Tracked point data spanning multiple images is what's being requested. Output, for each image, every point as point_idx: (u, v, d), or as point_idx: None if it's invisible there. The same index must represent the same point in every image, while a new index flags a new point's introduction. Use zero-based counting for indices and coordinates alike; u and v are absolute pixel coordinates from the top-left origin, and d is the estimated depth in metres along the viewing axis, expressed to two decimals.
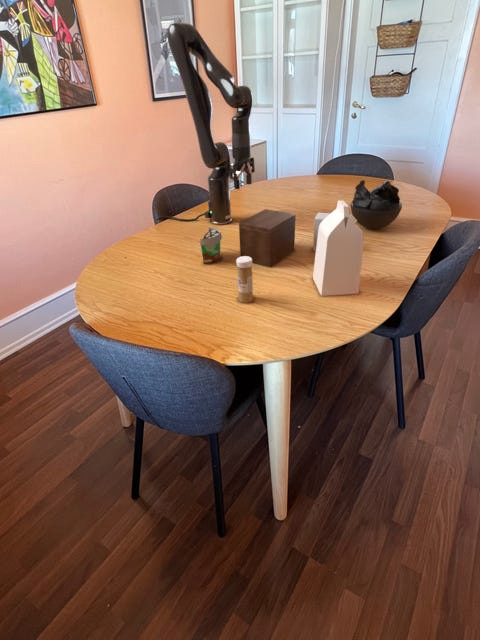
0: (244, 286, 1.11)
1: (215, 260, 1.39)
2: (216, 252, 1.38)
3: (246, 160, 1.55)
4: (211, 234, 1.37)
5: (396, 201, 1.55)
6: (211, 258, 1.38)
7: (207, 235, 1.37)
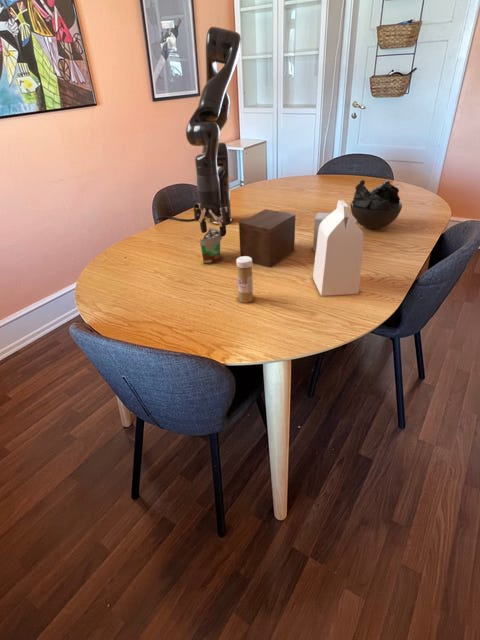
0: (244, 286, 1.11)
1: (215, 260, 1.39)
2: (216, 252, 1.38)
3: (212, 207, 1.29)
4: (211, 235, 1.38)
5: (396, 201, 1.55)
6: (211, 258, 1.38)
7: (207, 235, 1.37)
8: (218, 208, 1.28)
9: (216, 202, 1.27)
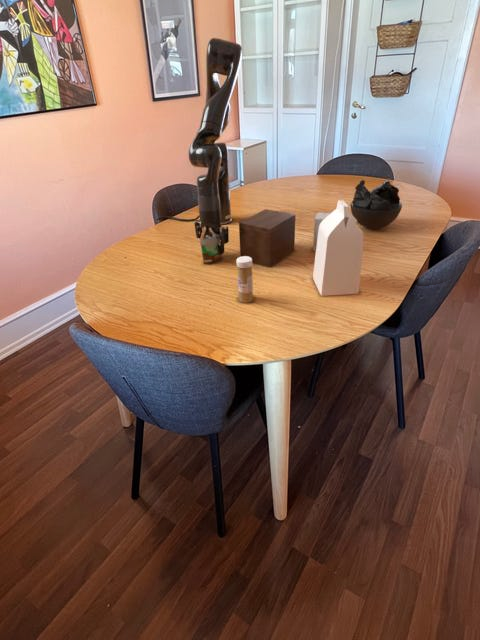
0: (244, 286, 1.11)
1: (215, 260, 1.39)
2: (216, 252, 1.38)
3: (212, 225, 1.33)
4: None
5: (396, 201, 1.55)
6: (211, 258, 1.38)
7: (207, 235, 1.37)
8: (218, 227, 1.32)
9: (216, 221, 1.31)
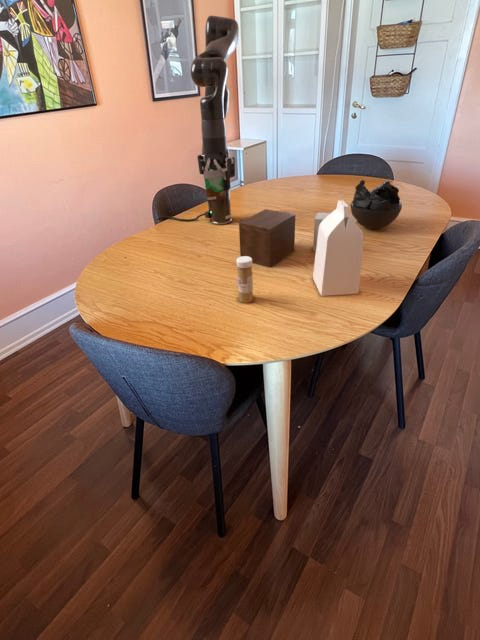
0: (244, 286, 1.11)
1: (220, 198, 1.27)
2: (221, 188, 1.25)
3: (217, 156, 1.21)
4: None
5: (396, 201, 1.55)
6: (216, 194, 1.25)
7: (211, 169, 1.25)
8: (223, 158, 1.20)
9: (221, 151, 1.19)
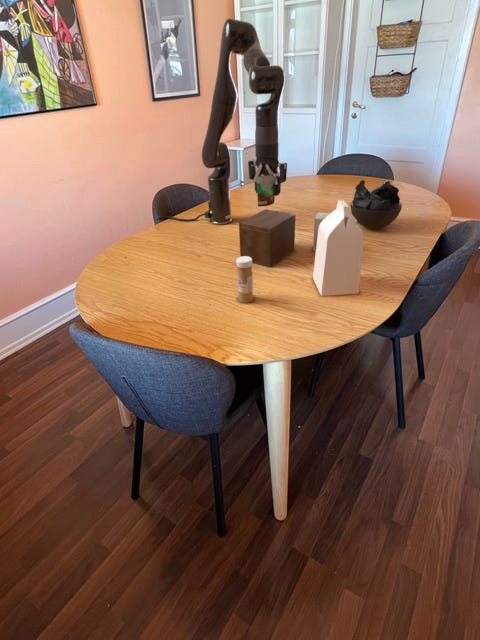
0: (244, 286, 1.11)
1: (270, 202, 1.29)
2: (272, 193, 1.28)
3: (269, 162, 1.23)
4: None
5: (396, 201, 1.55)
6: (267, 199, 1.28)
7: (262, 174, 1.27)
8: (276, 163, 1.22)
9: (275, 156, 1.21)
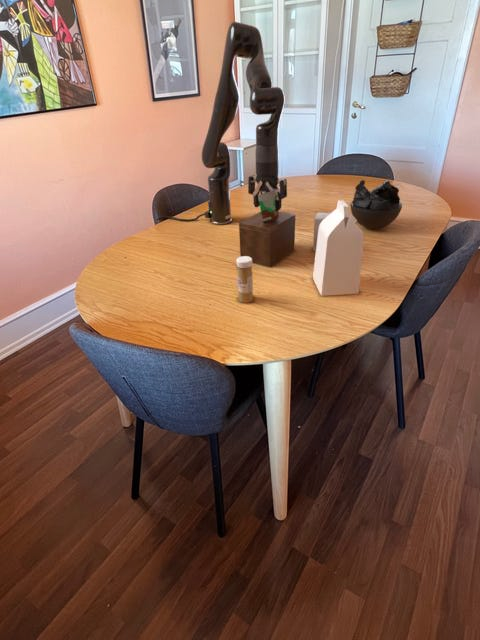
0: (244, 286, 1.11)
1: (275, 217, 1.31)
2: (275, 208, 1.30)
3: (269, 179, 1.26)
4: None
5: (396, 201, 1.55)
6: (271, 215, 1.30)
7: (263, 191, 1.29)
8: (276, 181, 1.25)
9: (274, 174, 1.24)
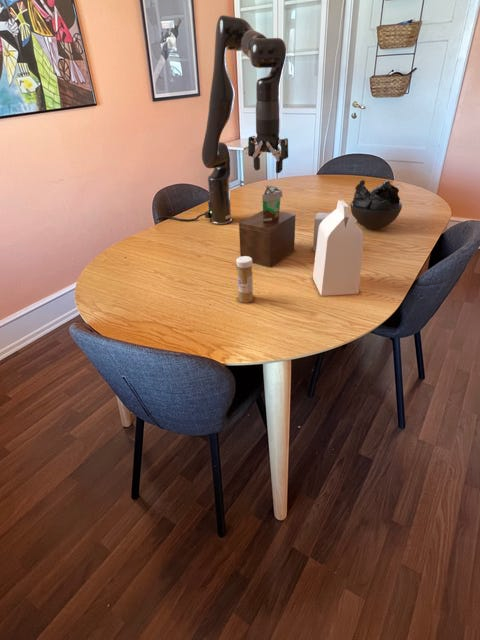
0: (244, 286, 1.11)
1: (275, 219, 1.32)
2: (277, 210, 1.30)
3: (269, 139, 1.21)
4: (271, 191, 1.30)
5: (396, 201, 1.55)
6: (272, 216, 1.30)
7: (267, 192, 1.29)
8: (277, 140, 1.20)
9: (275, 133, 1.19)
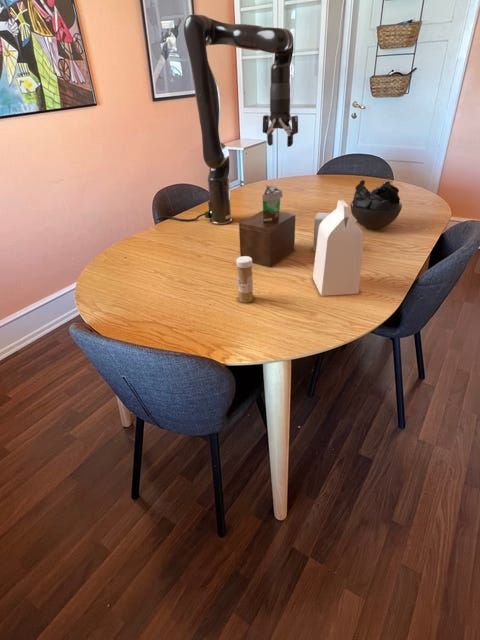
0: (244, 286, 1.11)
1: (275, 219, 1.32)
2: (277, 210, 1.30)
3: (282, 116, 1.40)
4: (271, 191, 1.30)
5: (396, 201, 1.55)
6: (272, 216, 1.30)
7: (267, 192, 1.29)
8: (288, 117, 1.39)
9: (287, 111, 1.38)
